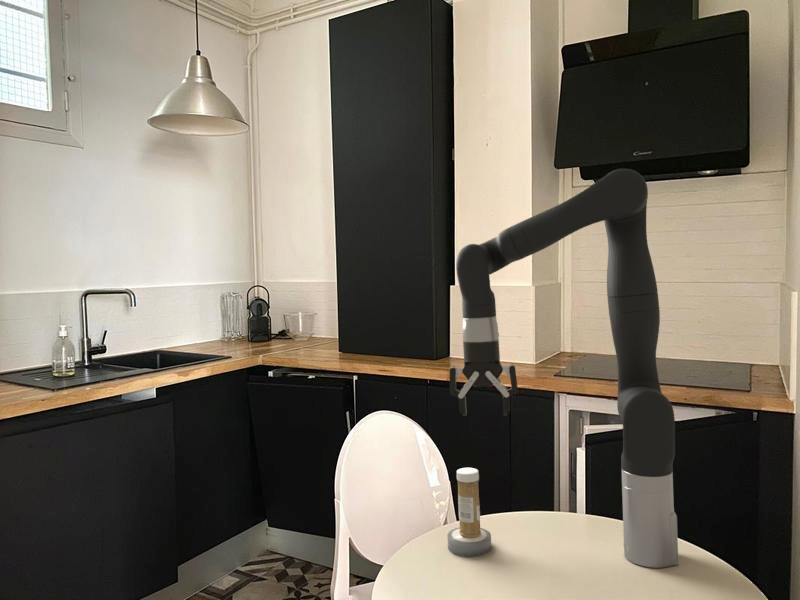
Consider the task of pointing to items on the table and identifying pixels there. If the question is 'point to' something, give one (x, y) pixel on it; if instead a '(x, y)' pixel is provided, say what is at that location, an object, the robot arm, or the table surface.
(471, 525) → the sprinkles bottle
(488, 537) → the stand
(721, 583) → the table surface
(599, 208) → the robot arm
